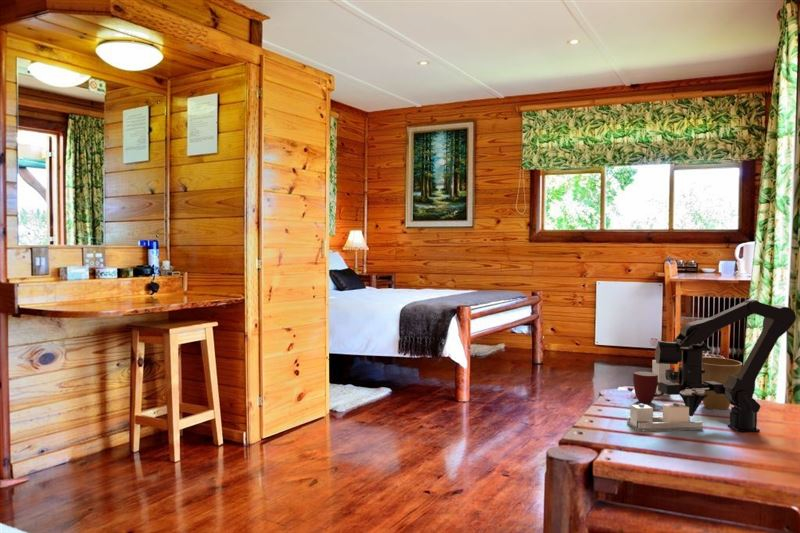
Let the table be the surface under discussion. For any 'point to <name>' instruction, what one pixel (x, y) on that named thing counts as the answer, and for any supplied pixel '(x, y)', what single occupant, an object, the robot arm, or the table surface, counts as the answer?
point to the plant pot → (718, 379)
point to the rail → (656, 421)
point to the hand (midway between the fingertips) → (690, 416)
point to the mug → (645, 386)
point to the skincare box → (660, 372)
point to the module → (675, 413)
